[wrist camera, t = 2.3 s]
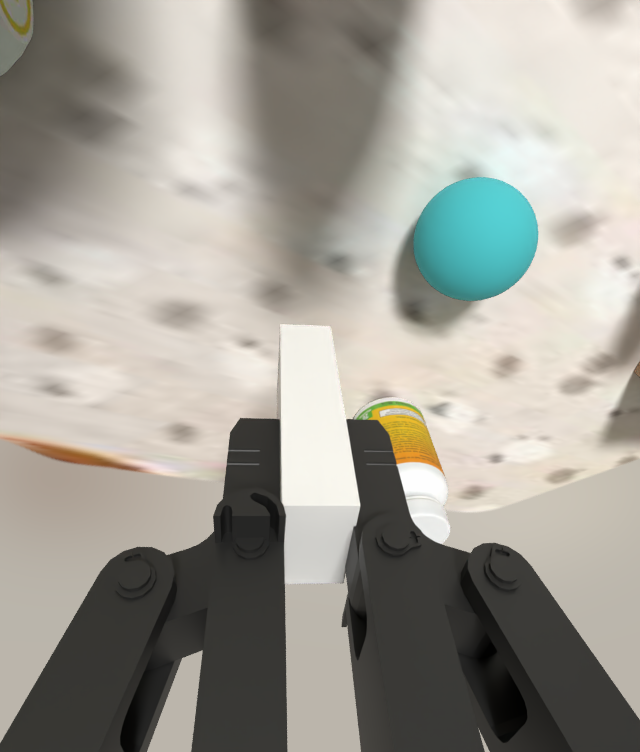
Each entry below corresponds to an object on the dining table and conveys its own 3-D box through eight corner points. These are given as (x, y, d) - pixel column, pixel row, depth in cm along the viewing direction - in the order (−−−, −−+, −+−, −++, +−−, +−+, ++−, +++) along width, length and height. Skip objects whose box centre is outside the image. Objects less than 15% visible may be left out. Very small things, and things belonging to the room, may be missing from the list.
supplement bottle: (359, 391, 34) (384, 504, 26) (431, 397, 35) (476, 508, 27) (343, 445, 37) (362, 560, 30) (410, 450, 38) (445, 562, 31)
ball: (393, 267, 29) (417, 320, 24) (414, 158, 25) (448, 195, 20) (490, 272, 29) (533, 324, 25) (525, 167, 26) (582, 205, 21)
